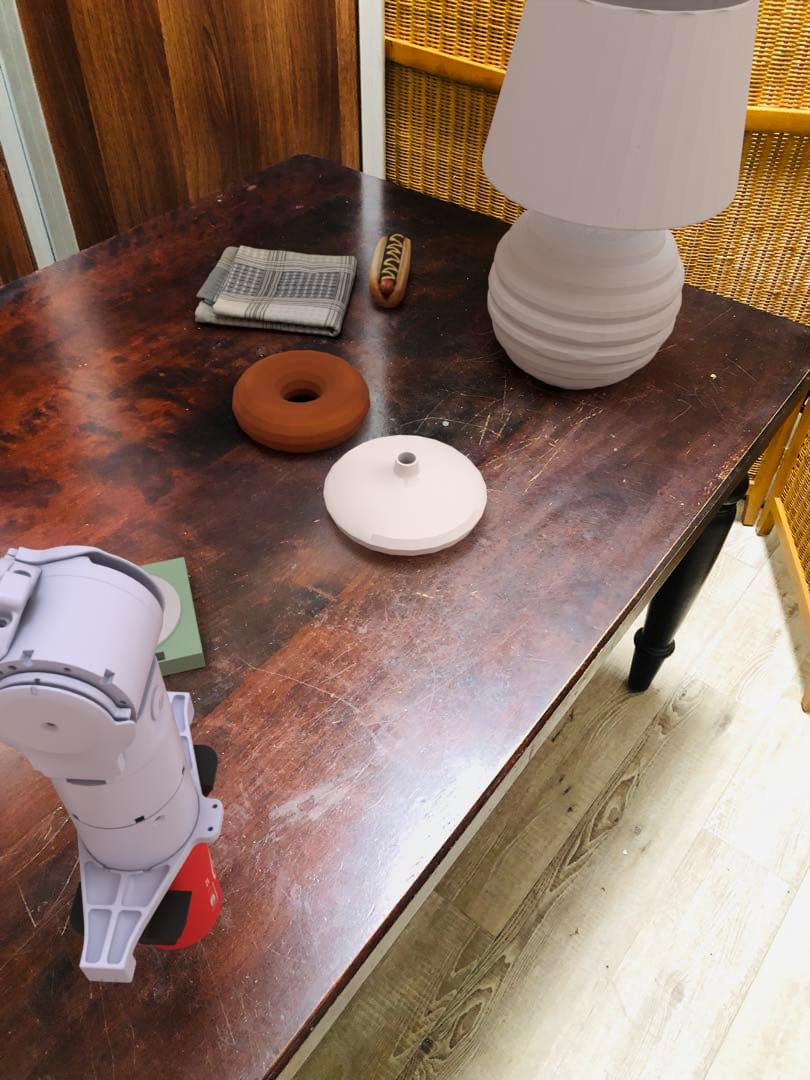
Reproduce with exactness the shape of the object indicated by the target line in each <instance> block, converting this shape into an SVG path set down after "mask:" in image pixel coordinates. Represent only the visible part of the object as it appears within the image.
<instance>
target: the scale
mask: <svg viewBox="0 0 810 1080" xmlns="http://www.w3.org/2000/svg"><path fill="white" fill-rule="evenodd" d="M137 566H138V567H140V568H141V569H143V570H144V571H145V572H146V573H148V574H149V575H150V576H151V577H152V578H153V579H154V580H155V581H156V583H157V584H158V585H159V587H160V588H161V590H162V592H163V595H164V598H165V611H164V614H163V626H162V629H161V633H160V636H159V640H158V644H157V647H156V651H155V656H156V658H157V661H158V664H159V667H160V671H161V674H162V677H167V676H171V675H175V674H179V673H182V672H186V671H191V670H196V669H200V668H205V667H206V665H207V664H206V661H205V655H204V650H203V645H202V640H201V633H200V629H199V625H198V624H199V623H198V620H197V615H196V610H195V609H196V608H195V603H194V599H193V598H194V597H193V594H192V588H191V582H190V578H189V572H188V568H187V564H186V559H185V557H184V556H182V557H176V558H173V559H167V560H161V561H157V562H156V561H155V562H151V563H147V564H143V565H137Z"/></svg>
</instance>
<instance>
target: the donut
mask: <svg viewBox="0 0 810 1080" xmlns="http://www.w3.org/2000/svg"><path fill="white" fill-rule="evenodd" d="M298 398H310V399H313V400H309V401H306V402H295V401H290V400H292V399H298ZM231 403H232V405H231V409H232V411H233V414H234V417H235V419H236V421H237V423H238V426H239V427H240V429H241V430H242V431H243V432H245V434H247V435H248V436H249V437H250V438H251V439H252V440H254V442H257V443H258V444H260V445H263V446H265V447H267V448H270V449H272V450H276V451H282V452H286V453H291V454H298V453H300V454H301V453H315V452H319V451H325V450H327V449H332V448H334V447H336V446H338V445H340V444H341V443H343V442H345V441H347V440H348V439H350V438H351V437H352V436H353V435H354V434H355V433H356V432H357V431H359V429H360V428H361V427H362V426H363V425H364V423H365V421H366V419H367V416H368V414H369V412H370V408H371V396H370V388H369V385H368V383H367V381H366V380H365V378H364V377H363V375H362V373H361V372H360V371H359V370H358V369H357V368H356V367H355V366H353V364H350V363H349V362H348V361H346V360H345V359H343V358H341V357H338V356H336V355H334V354H332V353H331V354H330V353H328V352H322V351H317V350H311V349H307V350H305V349H304V350H288V351H283V352H279V353H274V354H270V355H268V356H267V357H264V358H261V359H259V360H257V361H256V362H254V363H253V364H252V365H251V366H250V367H248V368H247V369H246V370H244V372H243V373H242V374H241V376H240V377H239V379H238V381H236V384H235V385H234V387H233V393H232V402H231Z"/></svg>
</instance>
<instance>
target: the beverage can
mask: <svg viewBox="0 0 810 1080" xmlns="http://www.w3.org/2000/svg"><path fill="white" fill-rule="evenodd" d="M168 890H180V891H192V897H191V902H190V907H189V912H188V917H187V922H186V925H185V928H184V931H183V933H182V935H181V937H180V938H179V939H178V941H177V943H176V944H175V945H174V946H167V945H152V946H153V947H154V948H158V949H162V950H171V951H172V950H180V949H185V948H188V947H191V946H193V945H195V944H196V943H198V942H200V941H201V940H203V938H204V937H205V936H206V935H207V934H209V932H210V931H211V930H212V929H213V927H214V926H215V925H216V922H217V921H218V918H219V916H220V913H221V908H222V904H223V894H222V893H223V892H222V888H221V884H220V881H219V878H218V874H217V872H216V868H215V864H214V862H213V858H212V855H211V852H210V848H209V846H208V843H198V844H196V845H195V846H194V847H193V848H192V850H191V852H190V853H189V855H188V857H187V858H186V860H185V862H184V863H183V865H182V867H181V868H180V870H179V872H178V873H177V875H176V877H175V878H174V880H173V882H172V883H171V885H170V887H169V889H168Z"/></svg>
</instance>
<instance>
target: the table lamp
mask: <svg viewBox="0 0 810 1080" xmlns="http://www.w3.org/2000/svg"><path fill="white" fill-rule="evenodd" d="M760 2H761V1H760V0H525V3H524V6H523V7H524V8H523V11H522V14H521V18H520V21H519V25H518V28H517V31H516V35H515V39H514V42H513V46H512V49H511V53H510V57H509V59H508V63H507V66H506V71H505V74H504V78H503V81H502V85H501V88H500V92H499V95H498V99H497V103H496V106H495V110H494V113H493V117H492V120H491V124H490V127H489V131H488V134H487V138H486V141H485V145H484V149H483V152H482V156H481V164H482V165H481V166H482V167H481V168H482V172H483V173H484V175H485V177H486V180H487V181H488V182H489V183H490V184H491V185H492V186H493V188H494V189H495V190H496V191H498V192H499V193H500V194H502V196H504V197H505V198H507V199H508V200H510V201H512V202H514V203H515V204H517V205H519V206H520V207H522V208H524V209H527V210H525V211H524V212H522V213H521V214H520V215H519V216H518V217H517V218H516V220H515V221H514V222H513V223H512V225H511V227H510V228H509V230H508V231H507V232H506V233H505V234H504V235H503V236H502V237H501V239H500V240H499V242H498V243H497V245H496V249H495V253H494V257H493V262H492V264H491V268H490V270H489V275H488V290H487V310H488V314H489V316H490V318H491V323H492V328H493V333H494V335H495V338H496V340H497V341H498V343H499V344H500V345H501V347H502V348H503V349H504V350H505V353H506V354H507V356H508V357H509V359H510V360H511V361H512V362H513V363H514V364H515V365H516V366H517V367H518V368H520V369H521V370H522V371H523V372H525V373H527V374H529V375H530V376H532V377H533V378H534V379H537V380H538V381H541V382H543V383H545V384H547V385H550V386H554V387H557V388H561V389H564V390H576V391H577V390H579V391H581V390H592V389H595V388H601V387H606V386H609V385H613V384H617V383H619V382H621V381H623V380H625V379H627V378H629V377H630V376H631V375H633V374H634V373H635V372H636V371H638V370H640V369H642V368H644V367H645V366H646V365H647V364H649V362H651V361H652V359H653V358H654V357H655V356H656V355H657V352H658V351H659V350H660V348H661V347H662V346H663V344H664V343H665V342H666V341H667V339H668V338H669V337H670V335H671V334H672V333H673V330H674V327H675V323H676V320H677V316H678V314H679V312H680V309H681V306H682V300H683V286H684V284H685V266H684V264H683V261H682V258H681V255H680V254H679V247H678V245H677V242H676V239H675V236H674V235H673V234H672V232H671V230H673V229H681V228H685V227H689V226H693V225H696V224H701V223H703V222H705V221H708V220H710V219H713V218H714V217H716V216H718V215H720V214H721V213H722V212H723V211H725V210H727V208H729V206H730V205H731V204H732V202H733V201H734V200H735V198H736V194H737V191H738V189H739V188H738V187H739V181H740V180H739V179H740V169H741V161H742V155H743V154H742V153H743V144H744V138H745V137H744V135H745V127H746V119H747V112H748V102H749V95H750V84H751V78H752V77H751V76H752V69H753V61H754V60H753V59H754V53H755V52H754V51H755V43H756V34H757V25H758V18H759V10H760Z"/></svg>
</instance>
